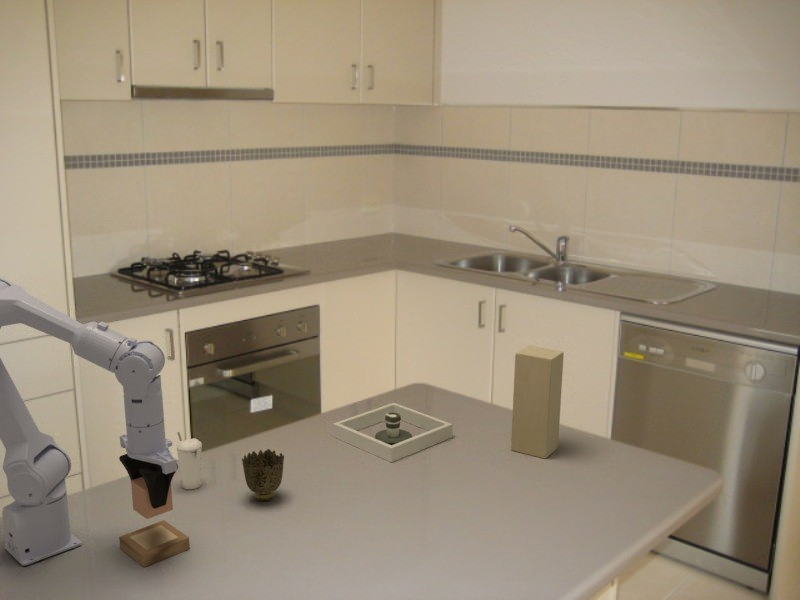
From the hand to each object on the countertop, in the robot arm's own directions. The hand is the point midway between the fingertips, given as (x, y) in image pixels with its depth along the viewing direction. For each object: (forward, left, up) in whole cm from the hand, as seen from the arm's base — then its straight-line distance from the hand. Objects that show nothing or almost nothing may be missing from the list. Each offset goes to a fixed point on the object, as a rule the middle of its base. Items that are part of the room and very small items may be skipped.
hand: (151, 500), depth 135 cm
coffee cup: (+59, +6, -8) cm, 60 cm away
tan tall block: (+76, -19, -9) cm, 79 cm away
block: (0, 0, -2) cm, 2 cm away
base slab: (0, 0, -8) cm, 8 cm away
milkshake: (+16, +16, -9) cm, 24 cm away
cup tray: (+59, +6, -8) cm, 60 cm away
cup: (+23, +2, -9) cm, 25 cm away
